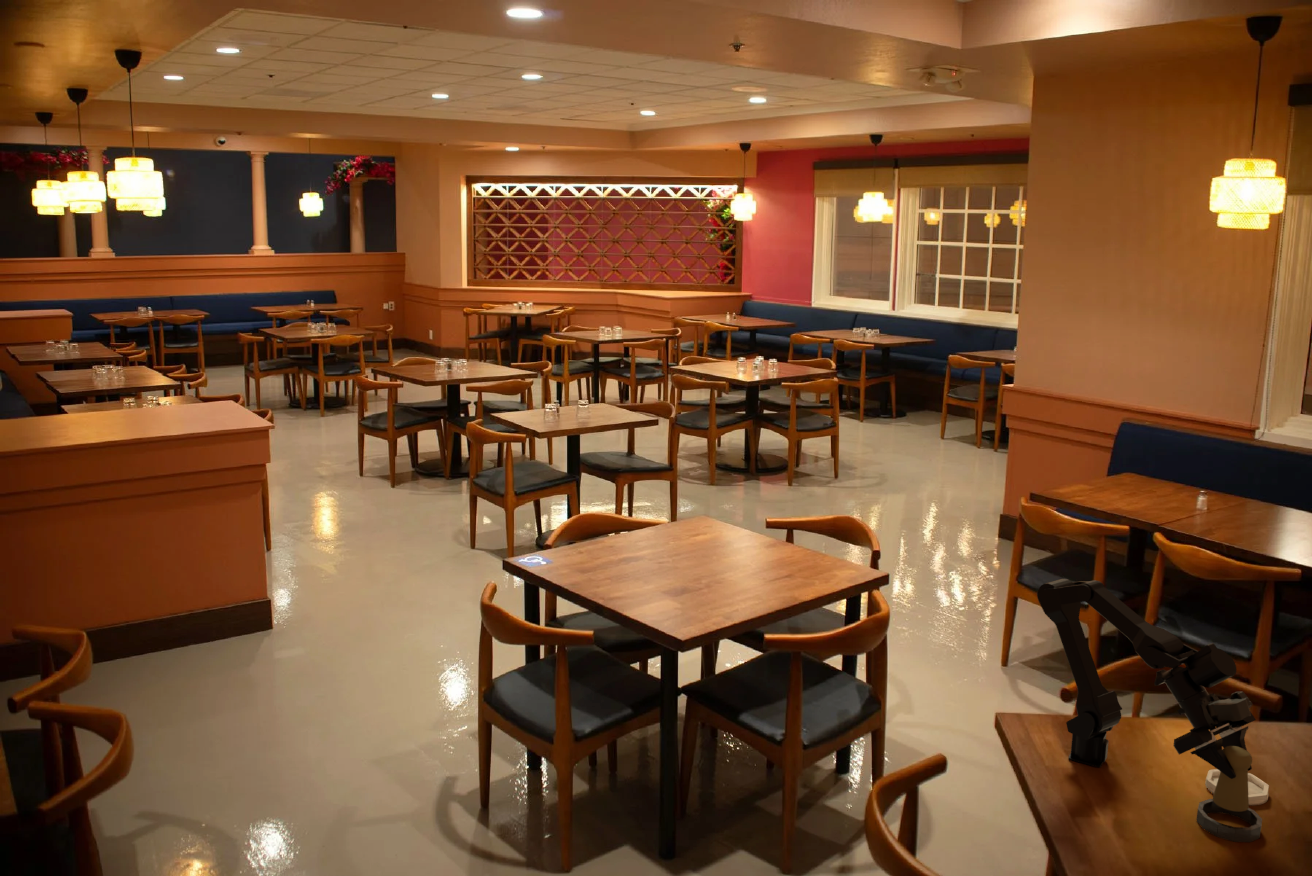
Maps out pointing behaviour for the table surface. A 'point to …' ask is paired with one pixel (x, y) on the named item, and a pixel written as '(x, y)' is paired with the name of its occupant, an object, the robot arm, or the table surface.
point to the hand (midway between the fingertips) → (1241, 774)
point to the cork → (1234, 781)
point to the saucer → (1255, 787)
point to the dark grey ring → (1225, 830)
